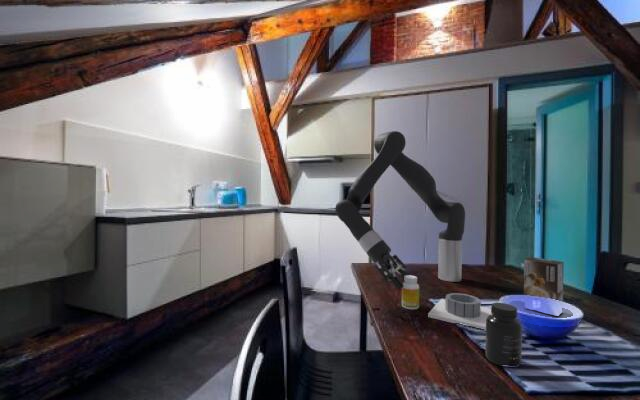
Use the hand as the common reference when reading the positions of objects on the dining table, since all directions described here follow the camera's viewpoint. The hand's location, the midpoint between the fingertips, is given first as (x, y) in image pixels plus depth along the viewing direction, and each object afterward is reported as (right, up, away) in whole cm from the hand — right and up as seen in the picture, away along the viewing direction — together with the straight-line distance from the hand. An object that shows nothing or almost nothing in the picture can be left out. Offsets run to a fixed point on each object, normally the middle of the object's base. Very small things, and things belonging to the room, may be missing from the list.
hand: (406, 284), depth 98 cm
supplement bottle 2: (+12, -8, -32) cm, 35 cm away
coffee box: (+42, -8, -3) cm, 43 cm away
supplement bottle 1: (+1, -7, -1) cm, 7 cm away
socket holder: (+15, -7, -7) cm, 18 cm away
